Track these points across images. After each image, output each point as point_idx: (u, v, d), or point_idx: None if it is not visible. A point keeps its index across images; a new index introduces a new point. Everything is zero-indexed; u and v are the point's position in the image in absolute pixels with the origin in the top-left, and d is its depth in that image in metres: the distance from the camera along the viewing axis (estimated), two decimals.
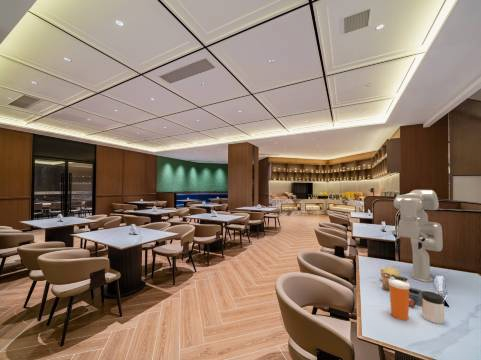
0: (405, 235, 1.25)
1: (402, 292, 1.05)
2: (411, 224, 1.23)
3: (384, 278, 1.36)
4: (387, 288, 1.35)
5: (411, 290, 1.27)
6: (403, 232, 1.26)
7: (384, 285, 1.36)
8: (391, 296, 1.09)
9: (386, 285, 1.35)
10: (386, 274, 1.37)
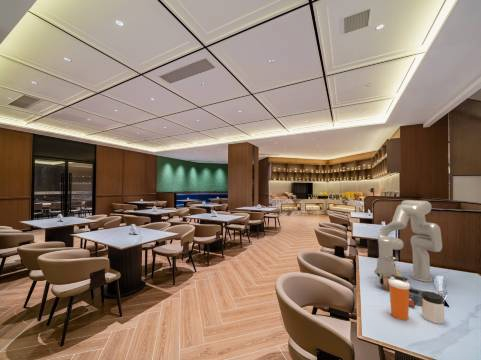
0: (382, 273, 1.36)
1: (402, 292, 1.05)
2: (388, 263, 1.34)
3: (384, 278, 1.36)
4: (387, 288, 1.35)
5: (411, 290, 1.27)
6: (381, 270, 1.37)
7: (384, 285, 1.36)
8: (391, 296, 1.09)
9: (386, 285, 1.35)
10: None
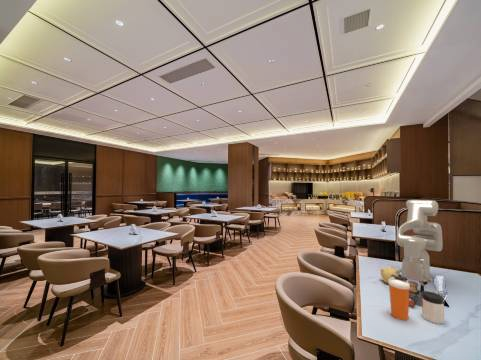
0: (409, 276, 1.24)
1: (402, 292, 1.05)
2: (415, 265, 1.22)
3: (411, 287, 1.24)
4: None
5: None
6: (406, 273, 1.25)
7: None
8: (391, 296, 1.09)
9: None
10: (413, 282, 1.24)
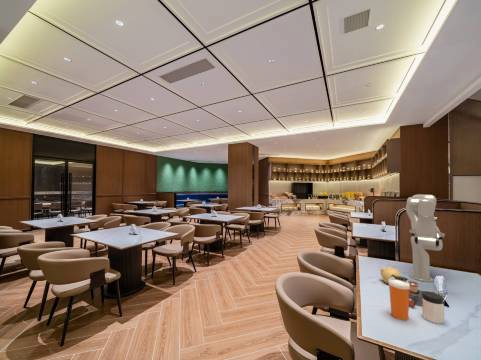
0: (423, 234, 1.34)
1: (402, 292, 1.05)
2: (429, 223, 1.32)
3: (411, 287, 1.24)
4: None
5: None
6: (421, 231, 1.34)
7: None
8: (391, 296, 1.09)
9: None
10: (413, 283, 1.24)
